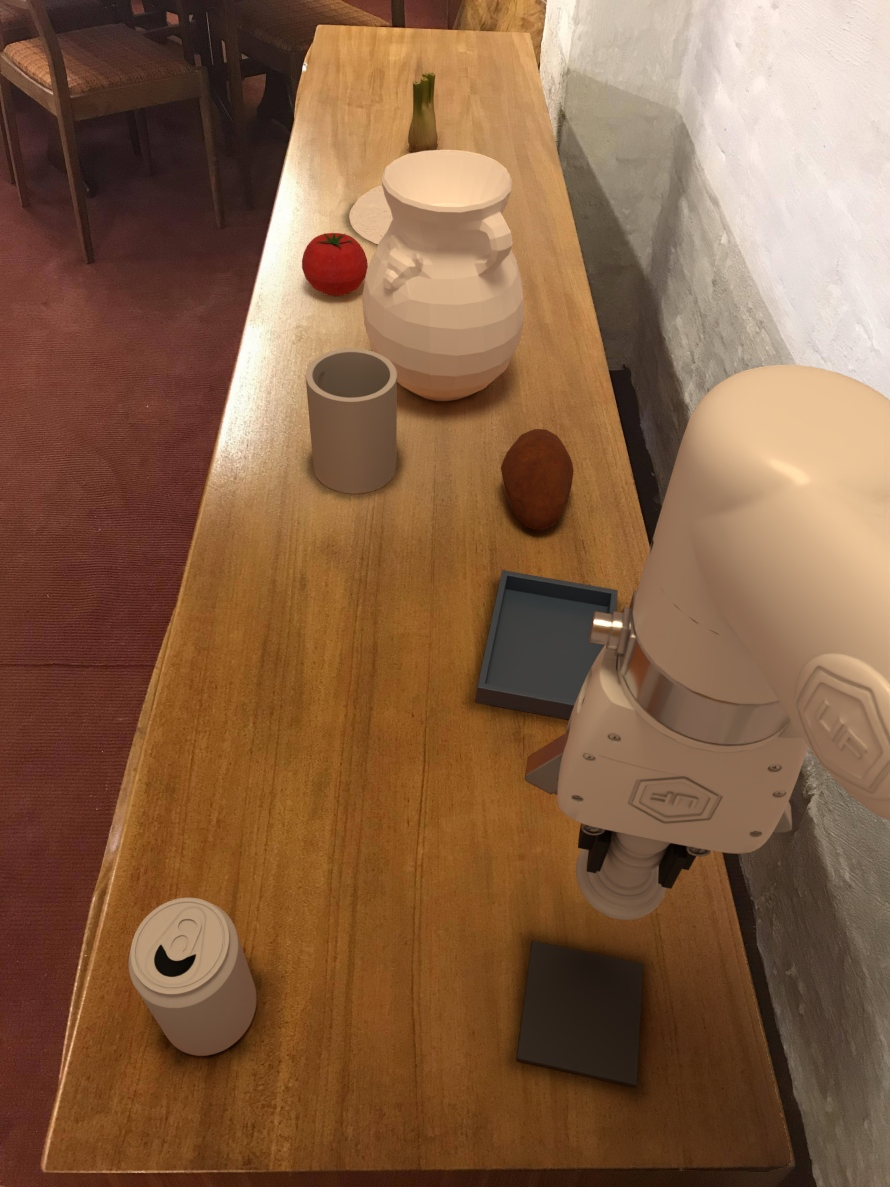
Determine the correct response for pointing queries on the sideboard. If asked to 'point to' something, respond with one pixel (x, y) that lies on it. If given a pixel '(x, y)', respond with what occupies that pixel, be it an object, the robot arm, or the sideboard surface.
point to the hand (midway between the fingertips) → (630, 854)
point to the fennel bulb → (423, 116)
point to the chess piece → (624, 877)
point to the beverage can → (193, 975)
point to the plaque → (371, 215)
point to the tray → (540, 643)
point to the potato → (537, 478)
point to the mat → (581, 1013)
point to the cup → (353, 419)
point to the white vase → (445, 275)
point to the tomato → (334, 264)
